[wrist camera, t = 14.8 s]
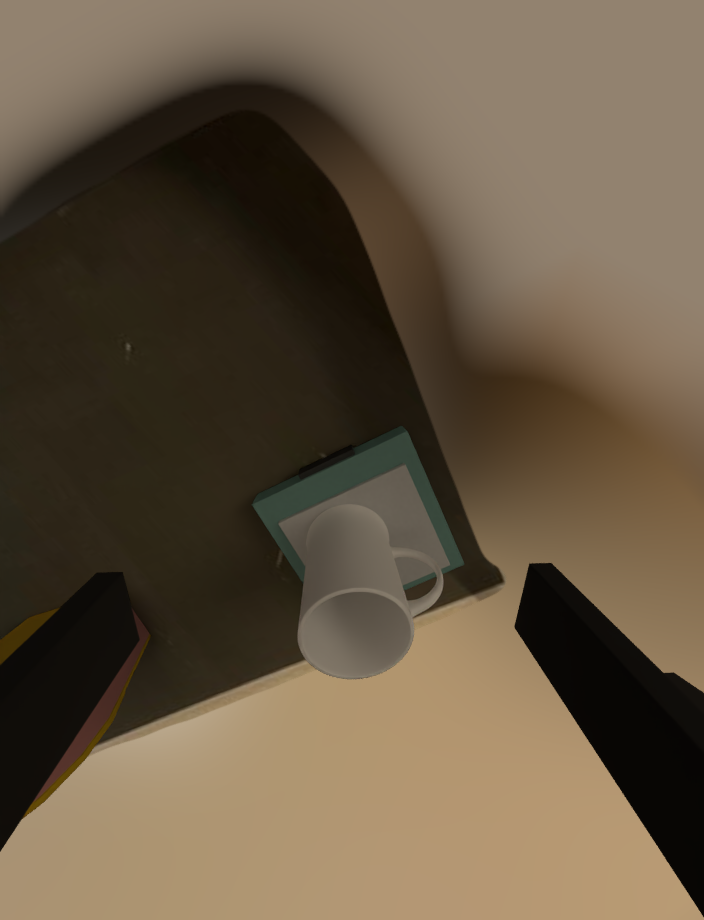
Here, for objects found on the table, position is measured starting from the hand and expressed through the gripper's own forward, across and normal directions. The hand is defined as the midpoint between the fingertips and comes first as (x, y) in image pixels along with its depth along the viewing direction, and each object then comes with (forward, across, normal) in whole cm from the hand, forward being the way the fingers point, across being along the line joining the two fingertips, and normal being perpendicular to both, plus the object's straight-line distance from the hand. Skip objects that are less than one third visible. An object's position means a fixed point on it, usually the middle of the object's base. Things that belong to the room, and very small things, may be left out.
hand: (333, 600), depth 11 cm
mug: (+20, +3, -11) cm, 23 cm away
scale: (+24, +3, -11) cm, 26 cm away
